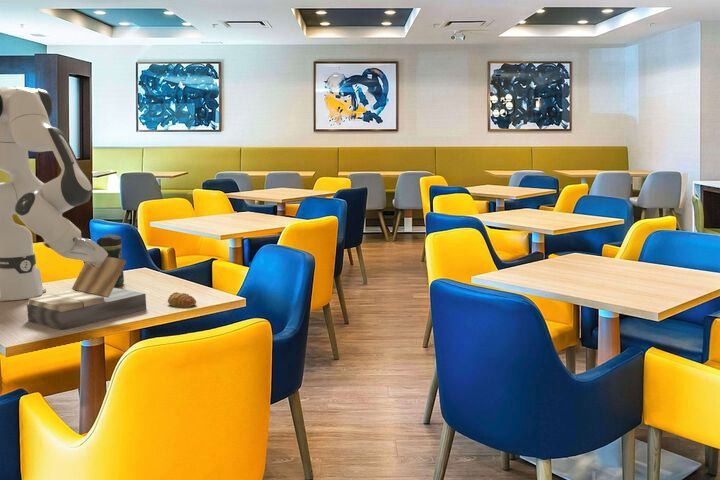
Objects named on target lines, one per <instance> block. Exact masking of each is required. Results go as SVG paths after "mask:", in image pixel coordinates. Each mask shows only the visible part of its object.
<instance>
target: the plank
mask: <svg viewBox="0 0 720 480" xmlns="http://www.w3.org/2000/svg"><path fill="white" fill-rule="evenodd" d="M126 263H127V261H126V260H125V259H123V258H122V259H119V258H112V257H106V259H105V260H104V262H103V263H101V266H100V267H99V268H97V267H92V266H91V265H90V264H88V263H86V262H84V264H83V266H82V268H81V270H80V272H79V273H78V276H77V278H76V280H75V281H74V284H73V286H72V287H71V290H72V291H77V292H81V293H88V294H93V295H98V296H103V297H107V298H109V296H110V294H111V292H112V290H113V288H115V287H114V286H115V284H116V282H117V280H118V278H119V275H120V273H121V271H122V269H123V270H124V268H125V265H126Z"/></svg>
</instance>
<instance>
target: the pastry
mask: <svg viewBox="0 0 720 480" xmlns="http://www.w3.org/2000/svg"><path fill="white" fill-rule="evenodd" d="M167 303H168V305H169V306H172V307H176V308H177V307H178V308H190V307H192V306H196V304H197V300H196V299H195V297H193V296H192V295H190V294H188V293H184V292H182V293H180V292H178V291H177V292H173V293H171V294H170V295H169V296H168V299H167Z"/></svg>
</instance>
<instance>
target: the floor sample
mask: <svg viewBox="0 0 720 480" xmlns="http://www.w3.org/2000/svg"><path fill="white" fill-rule="evenodd" d="M145 310H147V295H146V292H140V291H139V292H138V291H134V290H128V289H123V288H117V287H114V288H113V290H112V292H111V294H110V296H109V298H107V297H103V296H98V295H93V294H88V293H83V292H78V291H75V290H73V289H71V290H67V291H61V292H55V293H51V294H47V295H40V296H36V297H32V298H28V304H26V312H27V321H28V322H30V323H34V324H39V325H42V326H46V327H49V328H52V329H57V330H59V331H65V330H68V329H73V328H76V327H80V326H85V325H89V324H92V323H97V322H101V321H105V320H109V319H112V318H117V317H120V316H126V315H129V314H133V313H137V312H141V311H145Z"/></svg>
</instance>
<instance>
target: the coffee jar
mask: <svg viewBox="0 0 720 480" xmlns="http://www.w3.org/2000/svg"><path fill="white" fill-rule="evenodd" d="M96 244H98V245H99V246H100V247H102V248H103V249H104V250H105V251H106V252H107V253H108V256H107V257H112V258H119V259H123V249H122V247H123V245H122V237H121V236H120V235H118V234H106V235H104V236H101V237H99V238H97V239H96ZM124 283H125V277H124V268H123V269H122V271H121V273H120V275H119V278H118V280H117V282H116V284H115V286H114V288H117V287H120V286H121V285H123V284H124Z"/></svg>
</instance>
